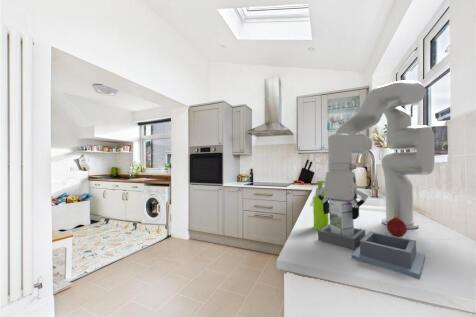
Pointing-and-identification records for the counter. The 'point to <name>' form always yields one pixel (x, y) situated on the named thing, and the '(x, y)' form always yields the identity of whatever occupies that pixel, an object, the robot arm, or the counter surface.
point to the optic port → (390, 253)
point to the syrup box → (341, 217)
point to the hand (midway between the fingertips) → (340, 216)
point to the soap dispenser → (319, 210)
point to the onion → (396, 227)
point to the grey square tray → (341, 238)
